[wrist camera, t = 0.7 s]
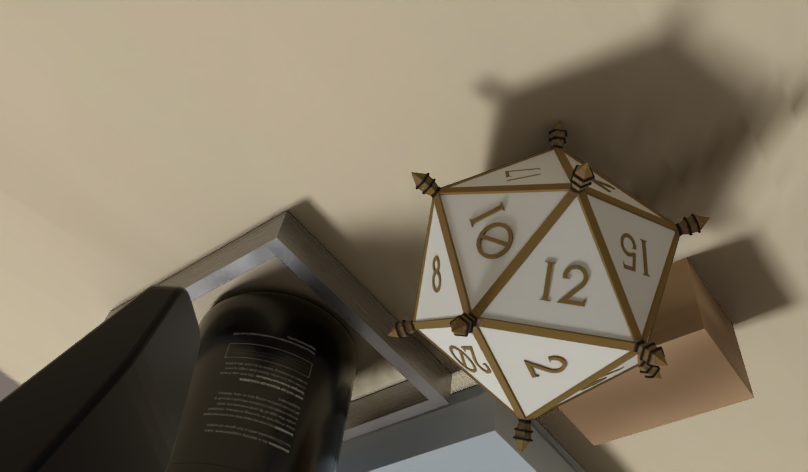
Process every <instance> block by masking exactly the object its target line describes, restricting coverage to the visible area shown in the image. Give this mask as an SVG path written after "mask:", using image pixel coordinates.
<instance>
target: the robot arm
mask: <svg viewBox="0 0 808 472" xmlns="http://www.w3.org/2000/svg"><path fill="white" fill-rule="evenodd" d="M200 337H201V336H200V329H199V326H198V322H197V319H196V316H195V312H194V309H193V305H192V302H191V299H190V296H189V293H188V291H187V290H186V289H185V288H184V287H181V286H170V285H153V286H151V287H149V288H147V289H146V290H145V291H143V292H142V293H141V294H139V295H138V296H137V297H135V298H134V299H133V300H132V301H130V302H129V303H128V304H126V305H125V306H124V307H122V308H121V309H120V310H118V311H117V312H116V313H115V314H113V315H112V316H111V317H109V318H108V319H107V320H105V321H104V322H103V323H102V324H100V325H99V326H98V327H96V328H95V329H94V330H92V331H91V332H90V333H88V334H87V335H86V336H85V337H83V338H82V339H81V340H79V341H78V342H77V343H75V344H74V345H73V346H72V347H70V348H69V349H68V350H66V351H65V352H64V353H62V354H61V355H60V356H58V357H57V358H56V359H55V360H53V361H52V362H51V363H49V364H48V365H47V366H45V367H44V368H43V369H42V370H40V371H39V372H38V373H36V374H35V375H34V376H32V377H31V378H30V379H28V380H27V381H26V382H25V383H23V384H22V385H21V386H19V387H18V388H17V389H15V390H14V391H13V392H12V393H10V394H9V395H8V396H6V397H5V398H4V399H2V400H1V401H0V472H166V470H167V468H168V465H169V462H170V459H171V456H172V453H173V449H174V446H175V442H176V438H177V435H178V431H179V427H180V423H181V419H182V415H183V411H184V407H185V403H186V399H187V395H188V392H189V388H190V384H191V380H192V376H193V372H194V368H195V364H196V360H197V356H198V352H199V348H200Z"/></svg>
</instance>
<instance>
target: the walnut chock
mask: <svg viewBox="0 0 808 472" xmlns="http://www.w3.org/2000/svg"><path fill="white" fill-rule="evenodd" d="M652 342H654V343H655V345H656V346H657V347H660V346H661V347H662V348H663V351H664V354H665V360H666V362H667V364H668V366H659V367H660V374H661V377H662V379H659V378H645V375H644V374H643V373H640V369H639V367H638V366H637V367H635V368H634V369H632V370H630V371H628V372H626V373H624V374H622V375H620V376H618V377H616V378H614V379H612V380H610V381H608V382H606V383H604V384H602V385H600V386H598V387H596V388H594V389H592V390H590V391H588V392H587V393H585V394H583V395H581V396H579V397H577V398H575V399H573V400H571V401H569V402H567V403H565V404H563V405H561V406H559V407H558V408H559V409H560V410H561V412H562V413H563V414H564V415H565V416H566V417H567V418H568V419H569V420H570V421H571V422H572V423H573V424H574V425H575V426H576V427H577V428H578V429H579V430H580V431H581V433H582V434H583V435H584V436H585V437H586V438H587V439H588V440H589V441H590V442H591V443H592V444H593V445H594V446H595V445H598V444H602V443H605V442H608V441H612V440H615V439H618V438H622V437H625V436H628V435H632V434H635V433H638V432H642V431H645V430H648V429H652V428H655V427H658V426H662V425H665V424H668V423H672V422H675V421H678V420H682V419H685V418H688V417H692V416H695V415H698V414H701V413H705V412H708V411H711V410H715V409H718V408H721V407H725V406H728V405H731V404H735V403H738V402H741V401H745V400H748V399H751V398H754V396H753V393H752V389H751V386H750V382H749V379H748V376H747V372H746V369H745V365H744V362H743V359H742V355H741V352H740V349H739V345H738V342H737V338H736V335H735V332H734V328H733V325H732V324H731V322H730V321H729V319H728V318H727V316H726V315H725V313H724V312H723V311H722V309H721V308H720V306H719V305H718V303H717V302H716V300H715V299H714V297H713V296H712V294H711V293H710V292H709V290H708V289H707V287H706V286H705V284H704V283H703V281H702V280H701V278H700V277H699V275H698V274H697V273H696V271H695V270H694V268H693V267H692V265H691V264H690V262H689V261H688V259H687V258H684V259H682V260H679V261H677V262H674V263H672V265H671V269H670V272H669V276H668V279H667V283H666V286H665V290H664V293H663V297H662V300H661V304H660V307H659V311H658V314H657V318H656V321H655V325H654V328H653V332H652V335H651V339H650V342H649V343H652Z"/></svg>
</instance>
